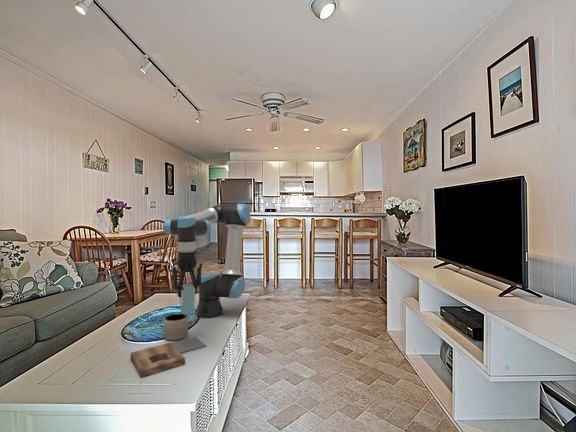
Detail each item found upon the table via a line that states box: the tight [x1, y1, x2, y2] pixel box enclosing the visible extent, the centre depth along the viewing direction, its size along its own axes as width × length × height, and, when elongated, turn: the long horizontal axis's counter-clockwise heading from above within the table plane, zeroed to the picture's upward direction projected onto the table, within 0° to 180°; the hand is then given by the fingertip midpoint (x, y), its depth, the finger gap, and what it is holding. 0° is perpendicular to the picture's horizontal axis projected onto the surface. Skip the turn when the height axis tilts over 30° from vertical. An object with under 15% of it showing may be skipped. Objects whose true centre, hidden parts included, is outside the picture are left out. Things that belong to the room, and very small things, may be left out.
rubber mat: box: [170, 336, 207, 354], centre depth 141 cm, size 12×12×1 cm
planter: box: [163, 312, 189, 342], centre depth 151 cm, size 11×11×10 cm
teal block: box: [180, 283, 195, 315], centre depth 140 cm, size 4×4×12 cm
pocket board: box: [130, 342, 186, 379], centre depth 126 cm, size 16×18×2 cm
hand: (187, 303), depth 140 cm, fingers closed on teal block, 4 cm apart
